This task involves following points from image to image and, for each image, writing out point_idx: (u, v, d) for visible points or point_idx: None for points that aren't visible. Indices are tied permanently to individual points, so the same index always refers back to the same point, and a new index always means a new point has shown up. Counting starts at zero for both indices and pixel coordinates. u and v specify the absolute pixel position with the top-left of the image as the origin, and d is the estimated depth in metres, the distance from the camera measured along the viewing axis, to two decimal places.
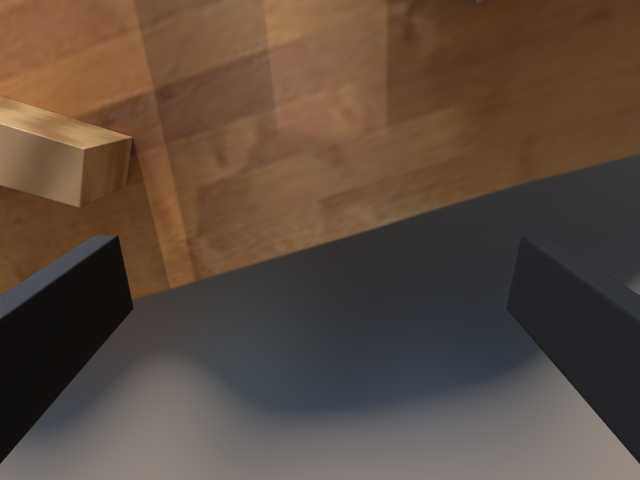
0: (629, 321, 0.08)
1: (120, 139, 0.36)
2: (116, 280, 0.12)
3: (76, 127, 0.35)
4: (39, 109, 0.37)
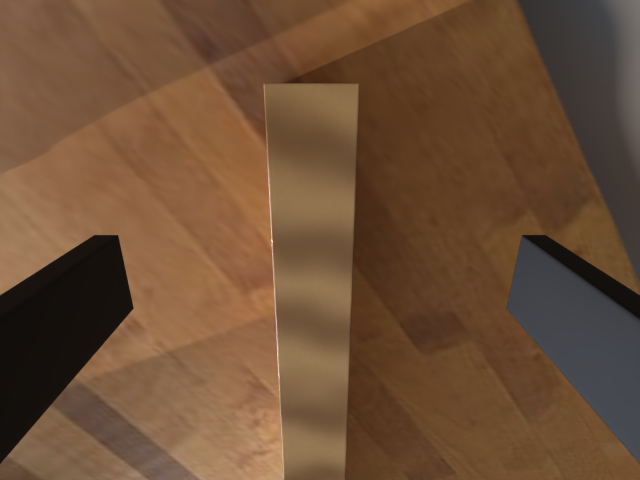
0: (629, 321, 0.08)
1: None
2: (116, 280, 0.12)
3: None
4: None
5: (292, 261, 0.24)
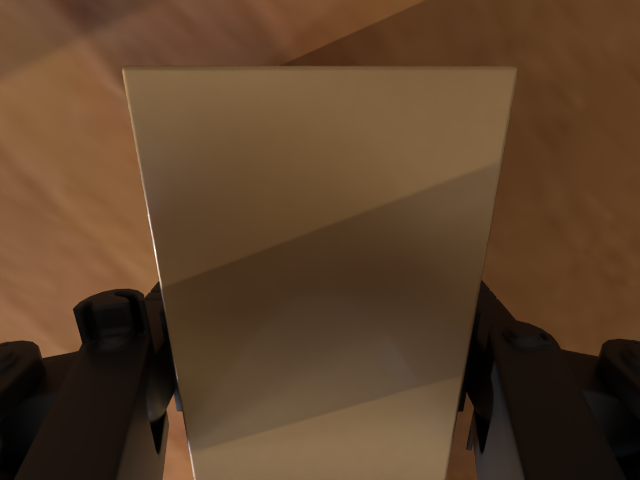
0: None
1: None
2: None
3: None
4: None
5: None
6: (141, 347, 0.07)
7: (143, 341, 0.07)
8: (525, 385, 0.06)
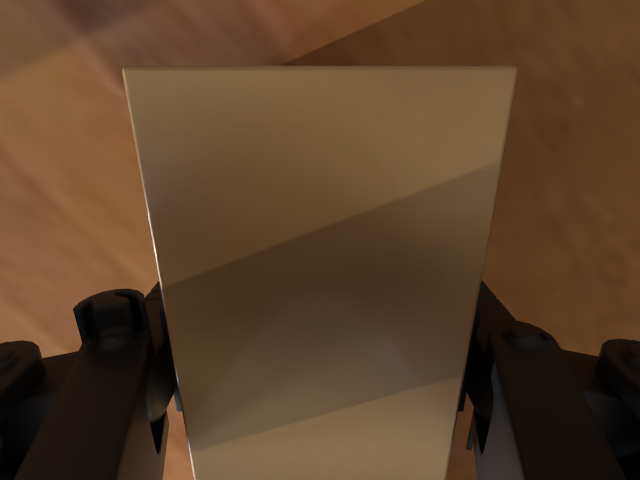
0: None
1: None
2: None
3: None
4: None
5: None
6: (141, 347, 0.07)
7: (143, 341, 0.07)
8: (525, 385, 0.06)
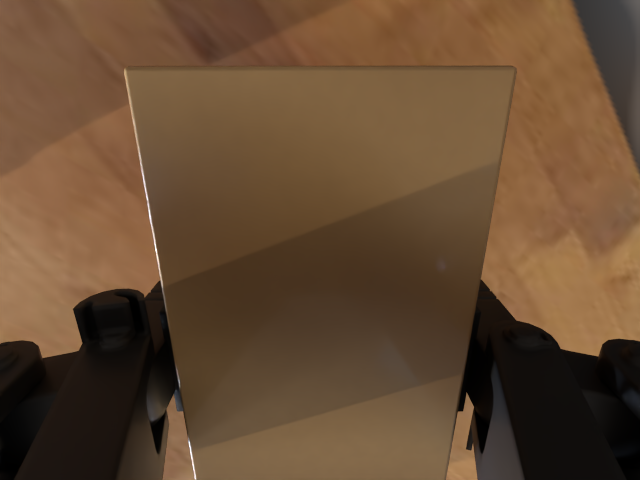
0: None
1: None
2: None
3: None
4: None
5: None
6: (141, 347, 0.07)
7: (143, 341, 0.07)
8: (525, 385, 0.06)
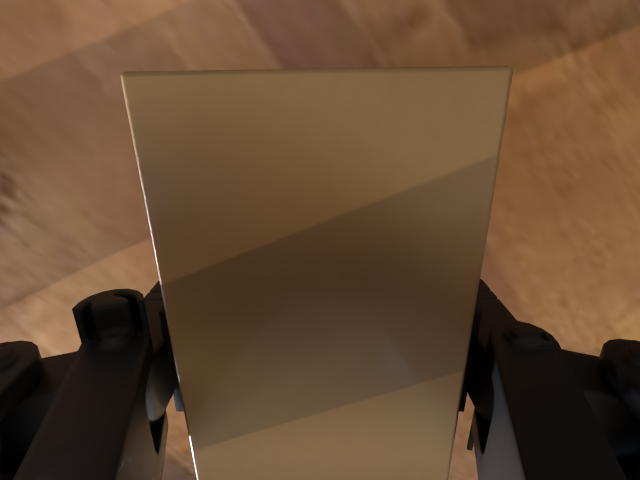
0: None
1: None
2: None
3: None
4: None
5: None
6: (140, 347, 0.07)
7: (142, 341, 0.07)
8: (526, 385, 0.06)
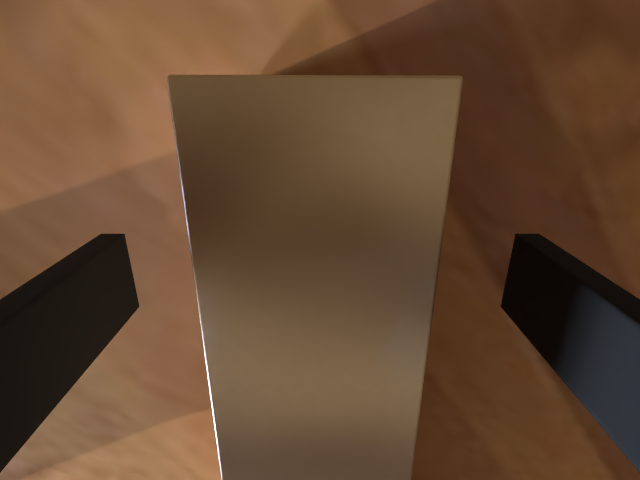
0: (618, 318, 0.08)
1: None
2: (123, 278, 0.12)
3: None
4: None
5: None
6: None
7: None
8: None
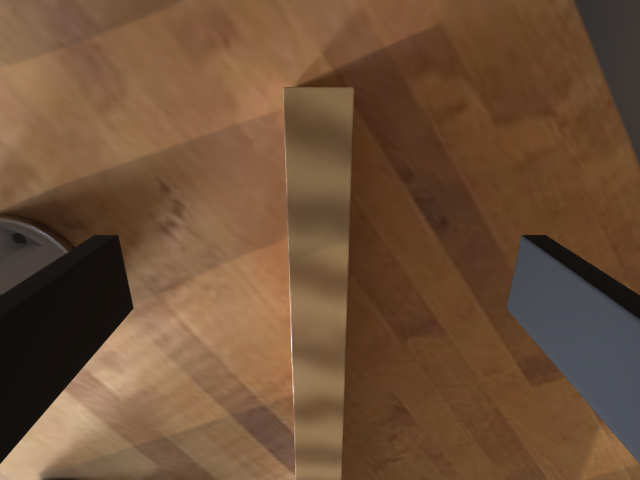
0: (629, 321, 0.08)
1: None
2: (116, 280, 0.12)
3: None
4: None
5: (302, 224, 0.31)
6: None
7: None
8: None
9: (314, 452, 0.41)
